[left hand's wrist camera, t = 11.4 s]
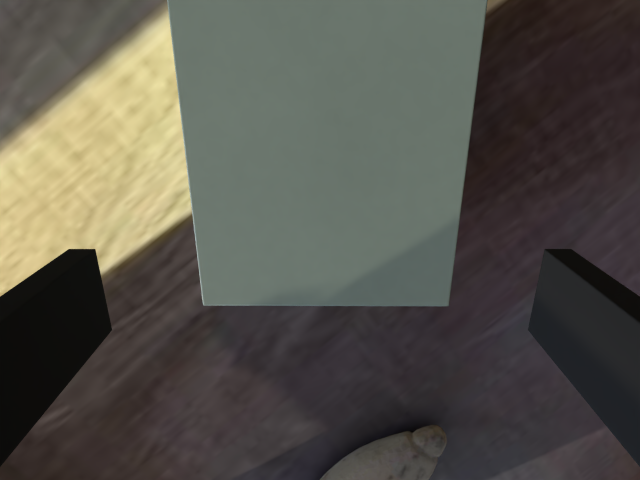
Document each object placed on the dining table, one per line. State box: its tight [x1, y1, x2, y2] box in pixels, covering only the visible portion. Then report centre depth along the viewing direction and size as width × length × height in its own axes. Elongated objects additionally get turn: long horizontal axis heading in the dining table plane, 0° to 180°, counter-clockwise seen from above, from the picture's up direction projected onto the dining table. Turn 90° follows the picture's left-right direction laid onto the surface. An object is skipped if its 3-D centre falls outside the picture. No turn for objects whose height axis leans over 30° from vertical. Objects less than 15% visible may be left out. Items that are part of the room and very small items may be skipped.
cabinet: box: [167, 0, 487, 306], centre depth 19 cm, size 17×10×9 cm, turn 0°
